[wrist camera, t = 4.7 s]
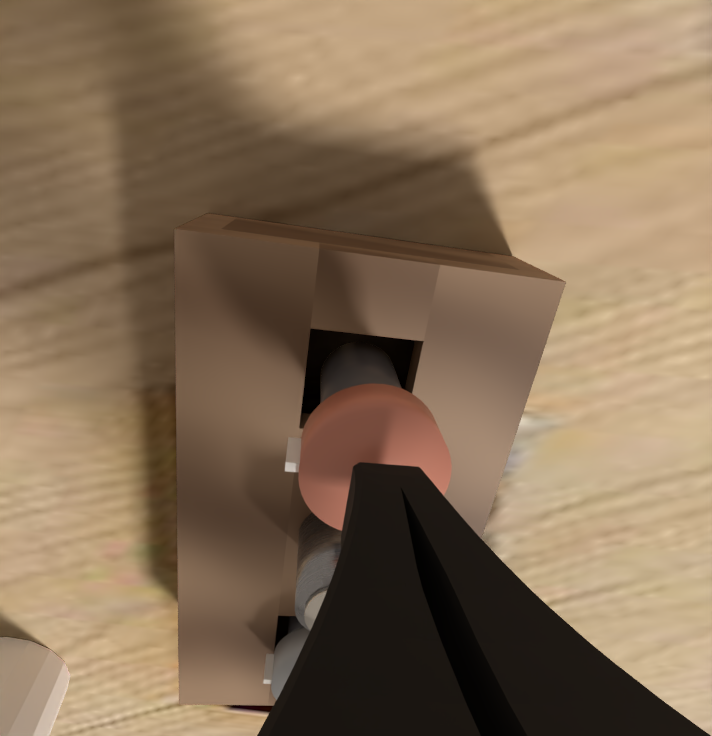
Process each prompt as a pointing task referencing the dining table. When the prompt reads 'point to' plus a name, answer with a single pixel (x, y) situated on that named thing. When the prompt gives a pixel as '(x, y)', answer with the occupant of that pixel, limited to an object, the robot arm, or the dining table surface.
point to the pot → (314, 566)
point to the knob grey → (284, 656)
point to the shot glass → (30, 687)
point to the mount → (284, 418)
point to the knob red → (362, 430)
